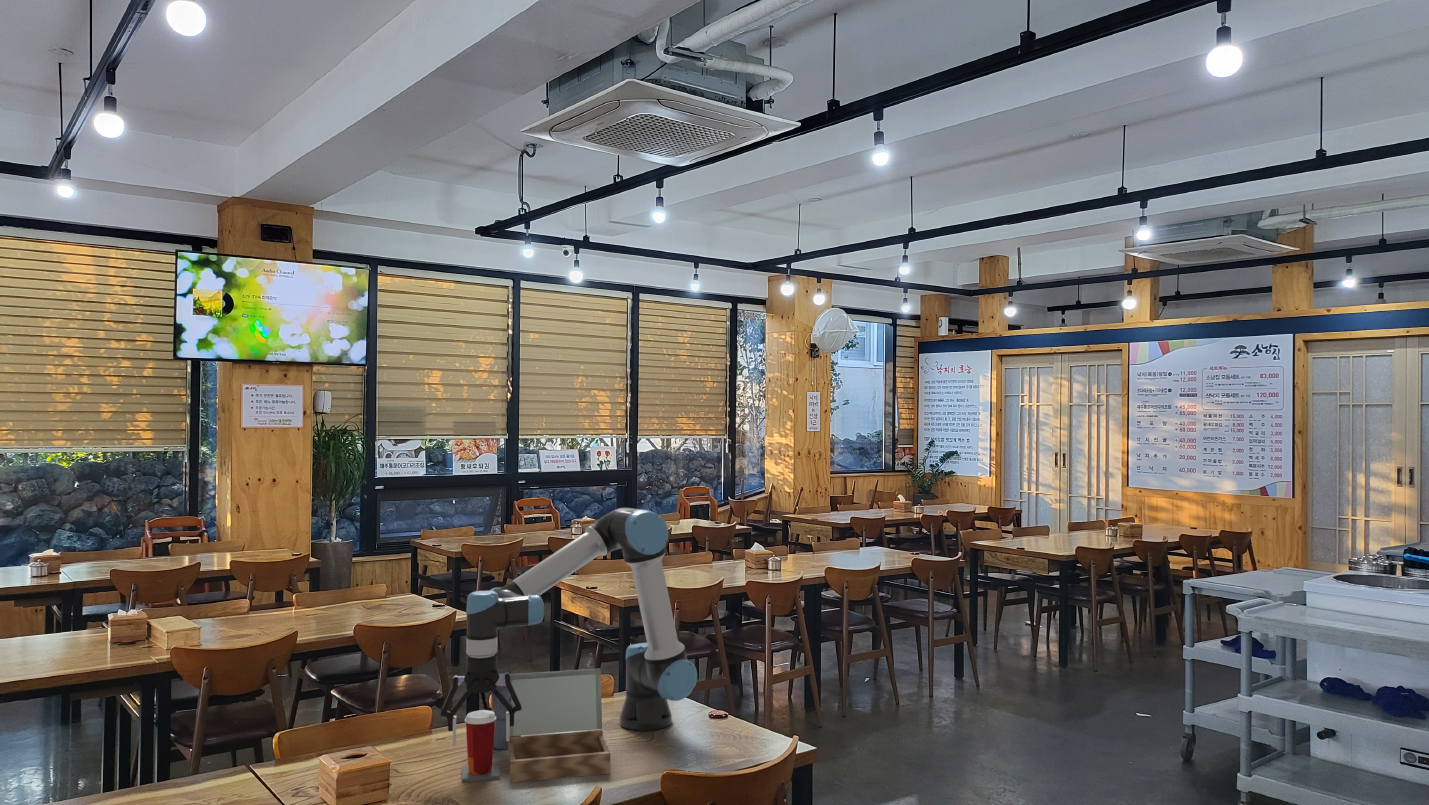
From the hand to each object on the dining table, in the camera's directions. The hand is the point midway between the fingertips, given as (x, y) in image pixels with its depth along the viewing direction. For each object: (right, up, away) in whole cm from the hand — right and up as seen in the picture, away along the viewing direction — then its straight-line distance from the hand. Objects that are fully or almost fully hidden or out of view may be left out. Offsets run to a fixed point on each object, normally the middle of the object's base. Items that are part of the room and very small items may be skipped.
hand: (481, 741), depth 229 cm
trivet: (0, -8, 0) cm, 8 cm away
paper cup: (0, -7, 0) cm, 7 cm away
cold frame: (+18, -8, +4) cm, 21 cm away
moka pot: (+1, -9, +22) cm, 23 cm away
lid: (+16, +5, +14) cm, 22 cm away
